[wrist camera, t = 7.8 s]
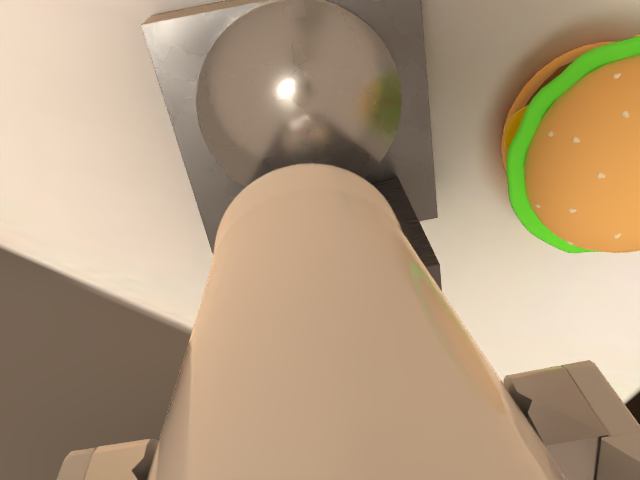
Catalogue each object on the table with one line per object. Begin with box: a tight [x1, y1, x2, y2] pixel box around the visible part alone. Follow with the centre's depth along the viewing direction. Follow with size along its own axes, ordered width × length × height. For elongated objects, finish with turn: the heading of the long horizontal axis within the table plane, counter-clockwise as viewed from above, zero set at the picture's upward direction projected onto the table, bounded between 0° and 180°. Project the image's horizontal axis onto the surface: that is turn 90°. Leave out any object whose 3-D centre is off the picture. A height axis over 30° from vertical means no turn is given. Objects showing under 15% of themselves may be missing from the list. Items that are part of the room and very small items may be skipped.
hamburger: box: [501, 34, 640, 253], centre depth 30 cm, size 12×12×9 cm
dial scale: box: [141, 0, 442, 291], centre depth 27 cm, size 13×13×12 cm
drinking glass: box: [147, 163, 567, 480], centre depth 11 cm, size 7×7×15 cm
